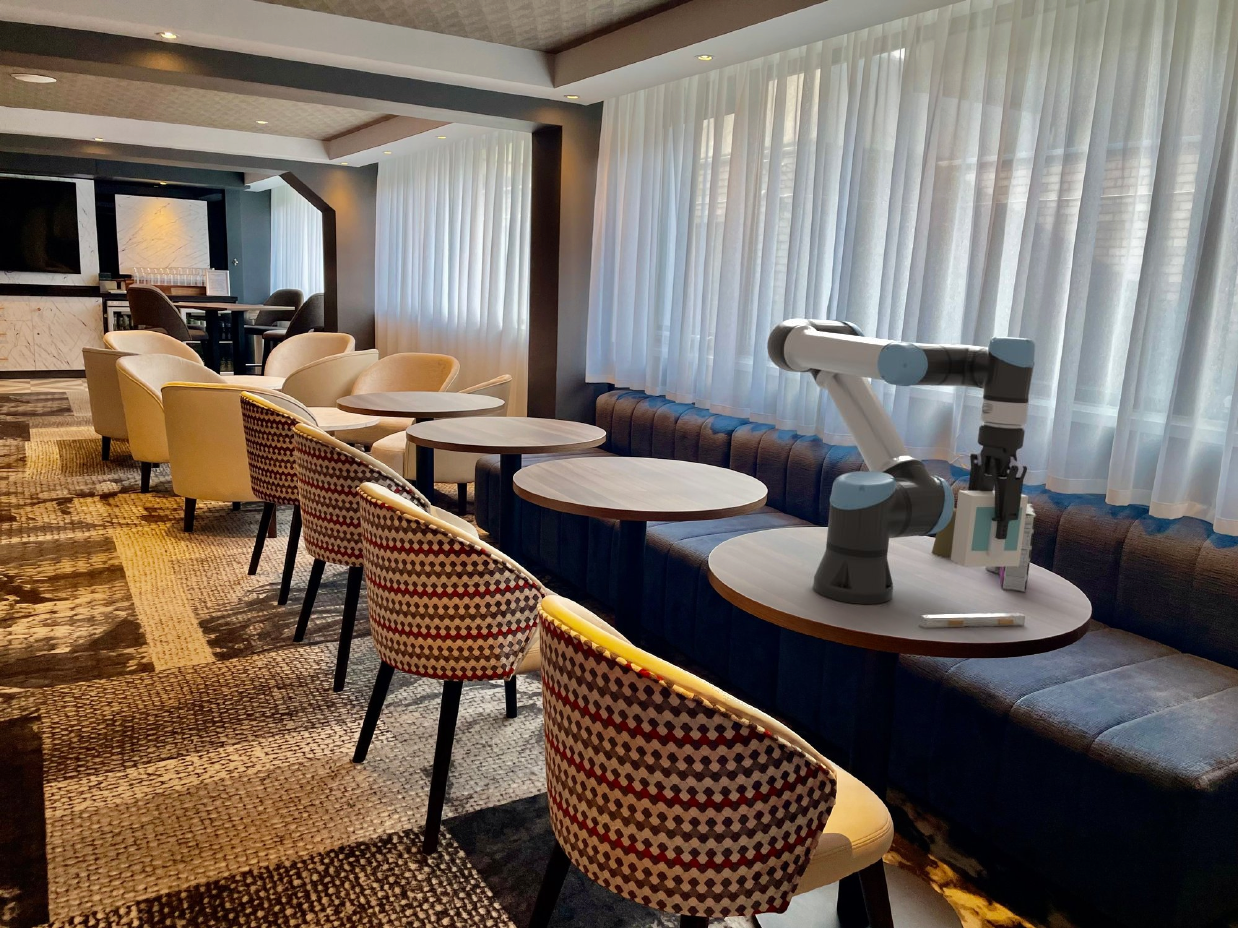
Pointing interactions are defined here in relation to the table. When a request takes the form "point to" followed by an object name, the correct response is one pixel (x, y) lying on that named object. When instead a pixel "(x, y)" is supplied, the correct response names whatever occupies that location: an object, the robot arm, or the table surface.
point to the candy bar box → (1018, 575)
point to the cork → (945, 539)
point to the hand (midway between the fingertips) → (986, 551)
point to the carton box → (984, 531)
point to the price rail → (972, 620)
